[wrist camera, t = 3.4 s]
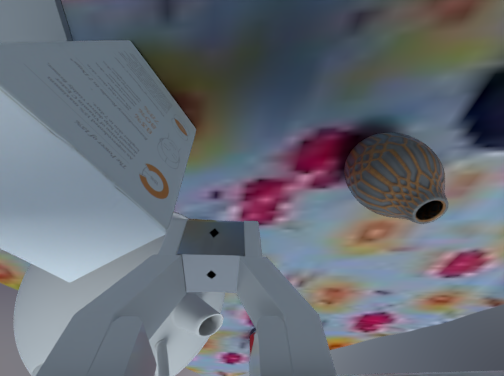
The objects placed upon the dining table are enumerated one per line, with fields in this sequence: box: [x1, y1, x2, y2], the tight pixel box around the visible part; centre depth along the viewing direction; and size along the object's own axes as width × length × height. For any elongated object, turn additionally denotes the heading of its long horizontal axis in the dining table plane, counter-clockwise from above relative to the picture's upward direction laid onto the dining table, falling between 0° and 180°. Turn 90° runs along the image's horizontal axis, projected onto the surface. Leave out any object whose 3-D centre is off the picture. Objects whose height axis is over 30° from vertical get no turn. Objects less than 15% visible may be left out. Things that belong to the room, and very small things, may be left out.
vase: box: [345, 133, 448, 224], centre depth 19 cm, size 7×7×9 cm
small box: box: [0, 40, 196, 282], centre depth 13 cm, size 8×6×13 cm
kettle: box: [14, 212, 225, 376], centre depth 21 cm, size 25×23×22 cm
